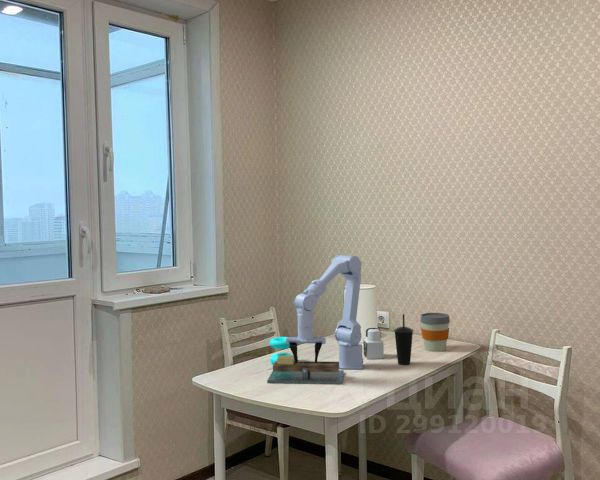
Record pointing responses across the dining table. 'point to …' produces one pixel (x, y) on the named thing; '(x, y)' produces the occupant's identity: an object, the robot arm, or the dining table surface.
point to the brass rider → (286, 360)
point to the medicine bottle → (373, 344)
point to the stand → (306, 377)
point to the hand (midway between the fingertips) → (306, 362)
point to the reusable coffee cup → (435, 331)
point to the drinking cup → (403, 343)
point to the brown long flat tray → (308, 366)
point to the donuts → (279, 347)
